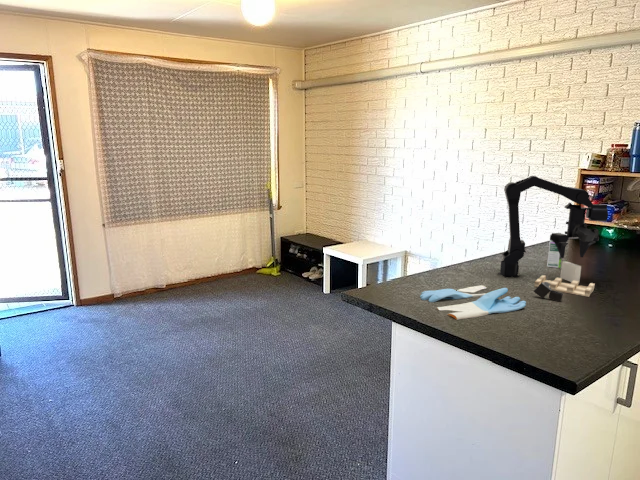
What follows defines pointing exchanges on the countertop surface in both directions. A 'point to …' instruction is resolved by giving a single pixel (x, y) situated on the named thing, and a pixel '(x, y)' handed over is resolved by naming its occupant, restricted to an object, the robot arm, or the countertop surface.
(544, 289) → the black joined square panels
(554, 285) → the slotted rack
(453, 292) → the rubber gloves
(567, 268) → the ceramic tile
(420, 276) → the countertop surface
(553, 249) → the syrup box
